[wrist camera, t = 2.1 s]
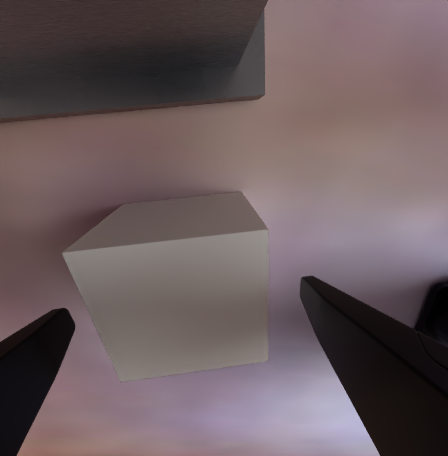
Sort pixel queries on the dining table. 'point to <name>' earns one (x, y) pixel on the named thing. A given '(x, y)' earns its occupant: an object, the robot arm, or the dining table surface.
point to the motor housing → (127, 55)
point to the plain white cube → (176, 284)
